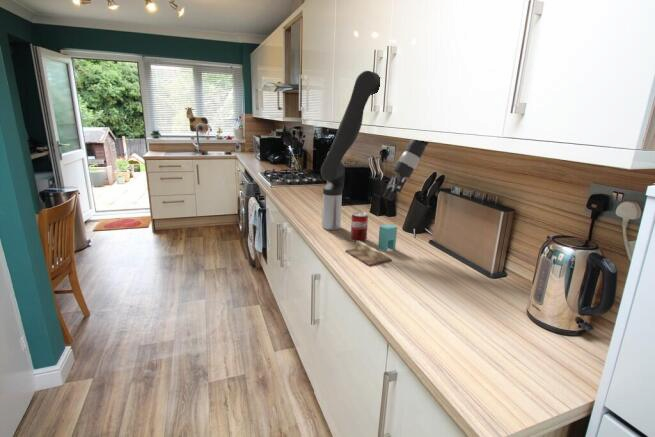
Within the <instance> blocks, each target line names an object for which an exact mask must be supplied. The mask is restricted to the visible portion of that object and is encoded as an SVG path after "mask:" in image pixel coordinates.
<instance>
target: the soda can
mask: <svg viewBox="0 0 655 437" xmlns="http://www.w3.org/2000/svg"><path fill="white" fill-rule="evenodd" d="M368 222H369V215H368V214H367V213H366V212H360V211H359V212H357V211H356V212H353V213H352V214H351V222H350V223H351V224H350V225H351V226H350V239H351V241H352V242H356V241H361V242H363V243H364V242H365V241H367V239H368V224H369V223H368Z"/></svg>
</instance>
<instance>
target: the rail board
mask: <svg viewBox="0 0 655 437" xmlns="http://www.w3.org/2000/svg"><path fill="white" fill-rule="evenodd" d="M382 252H383V251H381V250H378V249H376V248H375V247H373V246H371V245H369V244H367V243H364V242H361V241H356V244H355V247H354V248H349V249H345V253H347V254H348V255H350V256H352V257H353V258H354V259H356V260H358V261H359V262H361V263H363V264H364V265H365V266H368V267H372V266H375V265H376V266H377V265H380V264H384V263H389V262H392V258H391V257H389V256H387V255H386V254H383V253H382Z"/></svg>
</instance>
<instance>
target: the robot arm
mask: <svg viewBox="0 0 655 437" xmlns="http://www.w3.org/2000/svg"><path fill="white" fill-rule="evenodd" d="M379 76H380V75H379V74H378V73H376V72H375V71H371V70H363V71H361V72H360V73H359V74H358V75H357V77H356V80H355V82H354V85H353V89H352V92H351V96H350V99H349V102H348V104H347V107H346V109H345V111H344V114H343V116H342V119H341V121H340V123H339V126H338V128H337V131H336V134H335V136H334V139H333V142H332V143H331V146H330V149H329V151H328V153H327V155H326V157H325V158H324V161H323V163H322V165H321V167H320V175H321V178H322V180H324V181H326V184H325V186H323V189H322V208H321V227H322V228H323V229H324V230H329V231H337V230H340V229H341V226H342V225H341V224H342V202H343V200H342V199H343V198H342V197H343V196H342V195H343V190H344V187H345V174H346V173H345V172H346V171H345V165H344V163H343V162H342V161H343V158H344V157H345V154H346V153H347V152H348V151H349V149H350V148H351V147H352V146H353V145H354V143H355V141H356V140H357V138H358V136H359V133H360V131H361V127H362V124H363V117H364V111H365V107H366V105H367V104H368V100H369V98H370V96H372V95H373V94H375V93H377V92H378V90H379V87H380V78H381V76H380V77H379ZM428 144H430V142H424V141H418V140H412V139H411V140H410V141H409V143H408V144H407V145H406V148H405V149H404V151H403V153H402V154H401V156H400V157H399V158H398V161H397V162H396V165H395V166H394V168H393V172H394V173H395V175H394V174H393V175H392V176H391V178H390V180H389V182H388V183H387V184H386V190H385V191H384V194H383V196H382V197H383V198H384V199H386V200H388V201H390V202H394V199H395V198H396V196H397V194H399V193H400V192H401V191H402V189H403V187H404V185H405V184H406V182H407V179H408V180H409V179H410V178H411V176H412V174H413V173H414V171H415V169H416V168H417V166H418V163H419V161H420V159H421V158H422V156H423V154H424V152H425V150H426V148H427V146H428Z"/></svg>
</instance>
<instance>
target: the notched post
mask: <svg viewBox="0 0 655 437" xmlns="http://www.w3.org/2000/svg"><path fill="white" fill-rule="evenodd" d="M397 232H398V227H397V226H395V225H393V224H384V225H383V224H382V225H379V230H378V242H377V243H378V244H377V245H378V246H377V250H378V249H379V251H381V252H388V249H390V250H391V251H395V250H396V246H397V244H396V243H397Z"/></svg>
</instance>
